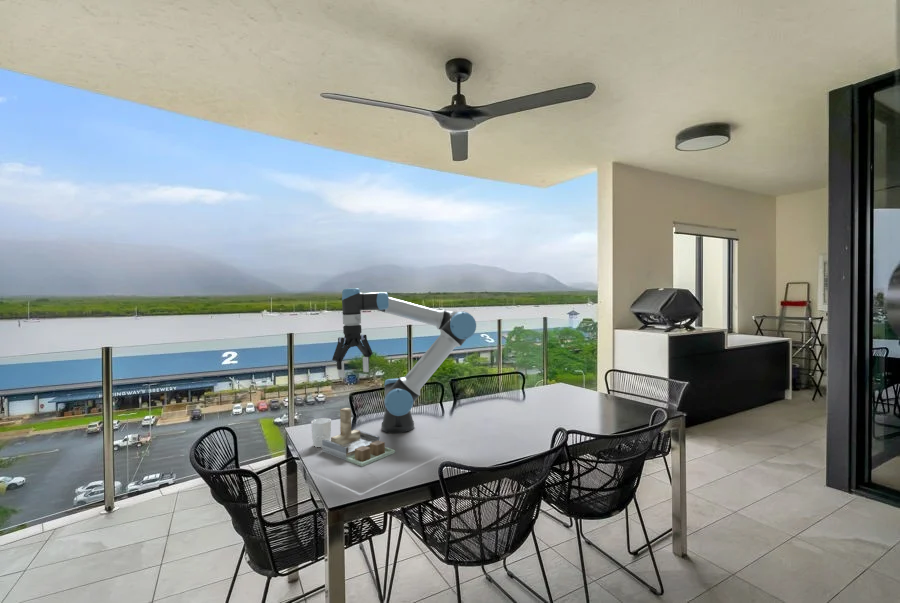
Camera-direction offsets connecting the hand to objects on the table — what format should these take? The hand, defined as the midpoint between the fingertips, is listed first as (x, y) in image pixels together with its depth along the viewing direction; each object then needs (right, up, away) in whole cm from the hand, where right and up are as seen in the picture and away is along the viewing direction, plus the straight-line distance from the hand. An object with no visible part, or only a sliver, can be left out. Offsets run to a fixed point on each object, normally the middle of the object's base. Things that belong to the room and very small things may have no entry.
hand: (354, 374), depth 167 cm
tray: (+11, -28, -19) cm, 35 cm away
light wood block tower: (-1, -25, -10) cm, 27 cm away
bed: (+2, -28, -12) cm, 30 cm away
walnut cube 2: (+11, -25, -15) cm, 31 cm away
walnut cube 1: (+7, -25, -21) cm, 33 cm away
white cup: (-12, -29, -5) cm, 31 cm away
